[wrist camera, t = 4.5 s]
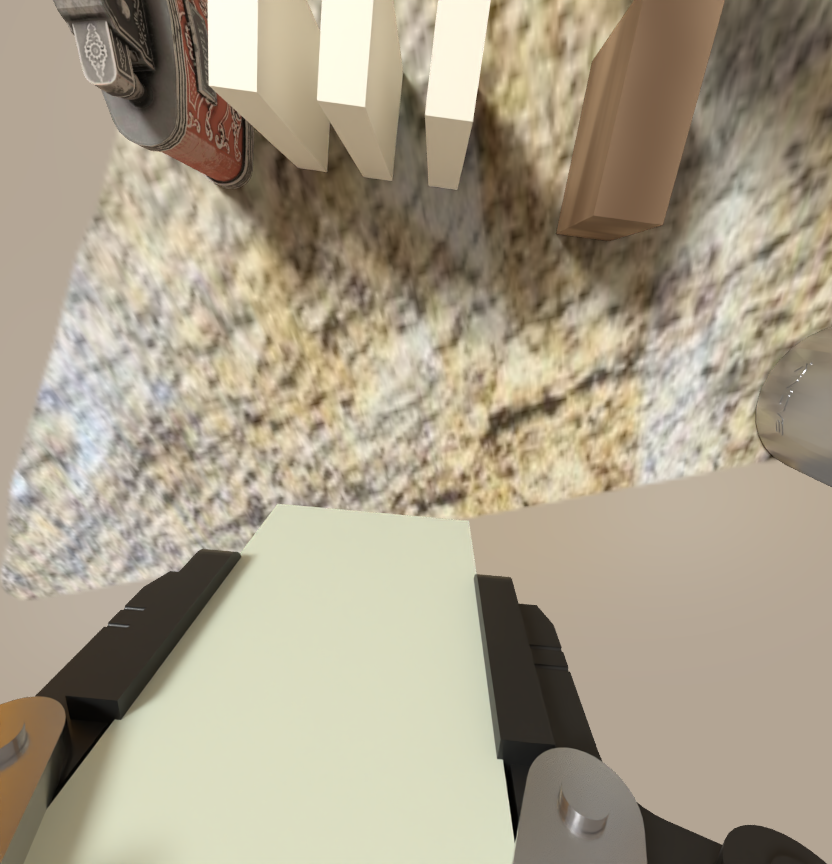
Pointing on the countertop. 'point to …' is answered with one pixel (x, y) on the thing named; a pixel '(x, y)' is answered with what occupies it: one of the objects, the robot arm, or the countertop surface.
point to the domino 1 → (271, 73)
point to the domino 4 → (453, 87)
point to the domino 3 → (362, 80)
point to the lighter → (162, 82)
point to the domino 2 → (307, 714)
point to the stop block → (637, 118)
